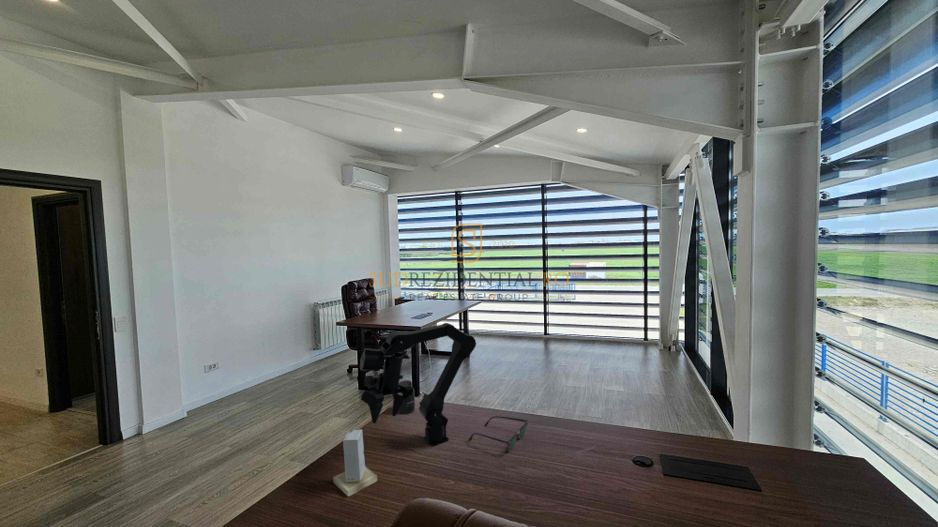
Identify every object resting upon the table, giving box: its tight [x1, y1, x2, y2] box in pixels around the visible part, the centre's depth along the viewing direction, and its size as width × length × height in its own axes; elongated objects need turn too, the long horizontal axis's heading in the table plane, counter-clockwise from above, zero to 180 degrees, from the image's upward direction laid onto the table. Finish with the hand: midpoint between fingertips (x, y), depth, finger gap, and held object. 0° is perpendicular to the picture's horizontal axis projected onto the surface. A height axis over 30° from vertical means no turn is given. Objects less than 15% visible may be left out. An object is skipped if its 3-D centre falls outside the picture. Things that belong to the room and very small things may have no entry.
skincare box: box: [342, 429, 366, 482], centre depth 103 cm, size 6×4×12 cm
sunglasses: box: [469, 415, 529, 452], centre depth 125 cm, size 16×17×5 cm
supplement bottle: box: [398, 379, 416, 415], centre depth 149 cm, size 7×7×12 cm
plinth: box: [332, 466, 378, 497], centre depth 103 cm, size 9×9×2 cm
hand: (384, 419), depth 116 cm, fingers open, 9 cm apart
